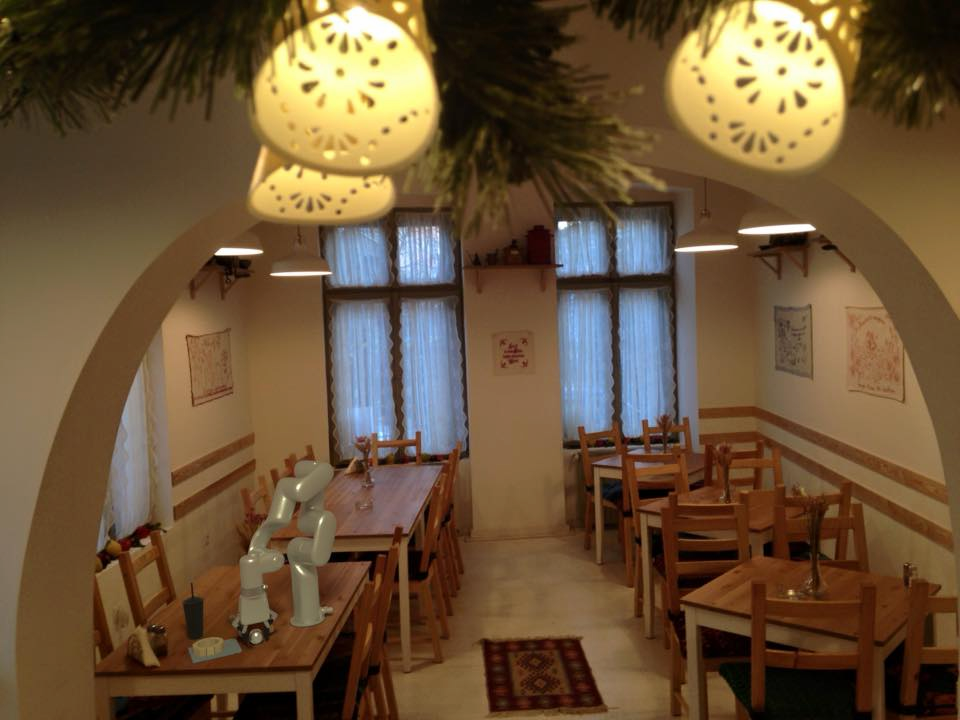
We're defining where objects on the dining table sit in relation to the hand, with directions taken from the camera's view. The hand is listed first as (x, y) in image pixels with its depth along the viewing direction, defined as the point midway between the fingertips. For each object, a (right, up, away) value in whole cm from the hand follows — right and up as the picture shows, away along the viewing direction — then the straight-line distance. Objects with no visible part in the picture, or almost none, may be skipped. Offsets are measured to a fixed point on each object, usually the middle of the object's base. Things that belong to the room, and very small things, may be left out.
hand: (256, 640), depth 291 cm
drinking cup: (-24, -2, +9) cm, 26 cm away
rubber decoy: (-7, 0, +7) cm, 9 cm away
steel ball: (0, +1, 0) cm, 1 cm away
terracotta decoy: (+2, +1, +9) cm, 9 cm away
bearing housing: (-13, -2, -5) cm, 14 cm away
